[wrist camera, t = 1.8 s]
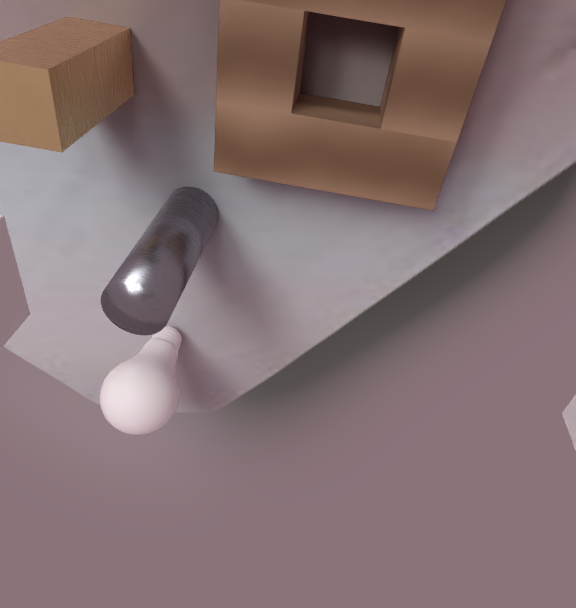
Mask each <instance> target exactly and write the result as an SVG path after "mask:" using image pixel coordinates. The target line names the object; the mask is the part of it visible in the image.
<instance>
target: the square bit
mask: <svg viewBox="0 0 576 608" xmlns="http://www.w3.org/2000/svg"><path fill="white" fill-rule="evenodd" d="M133 95H135V94H134V79H133V64H132V49H131V35H130V28H128V27H122V26H116V25H111V24H105V23H99V22H93V21H87V20H81V19H75V18H69V17H66V18H63V19H60V20H58V21H55V22H52V23H50V24H47V25H44V26H42V27H39V28H36V29H33V30H31V31H28V32H25V33H23V34H20V35H17V36H15V37H12V38H9V39H6V40H4V41H1V42H0V141H1V142H7V143H12V144H18V145H24V146H29V147H35V148H40V149H46V150H52V151H57V152H63V151H64V150H66V149H67V148H68V147H69V146H71V145H72V144H73V143H74V142H76V141H77V140H78V139H79V138H81V137H82V136H83V135H84V134H86V133H87V132H88V131H89V130H91V129H92V128H93V127H94V126H96V125H97V124H98V123H100V122H101V121H102V120H103V119H105V118H106V117H107V116H108V115H110V114H111V113H112V112H113V111H115V110H116V109H117V108H118V107H120V106H121V105H122V104H123V103H125V102H126V101H127V100H128V99H130V98H131V97H132V96H133Z"/></svg>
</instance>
